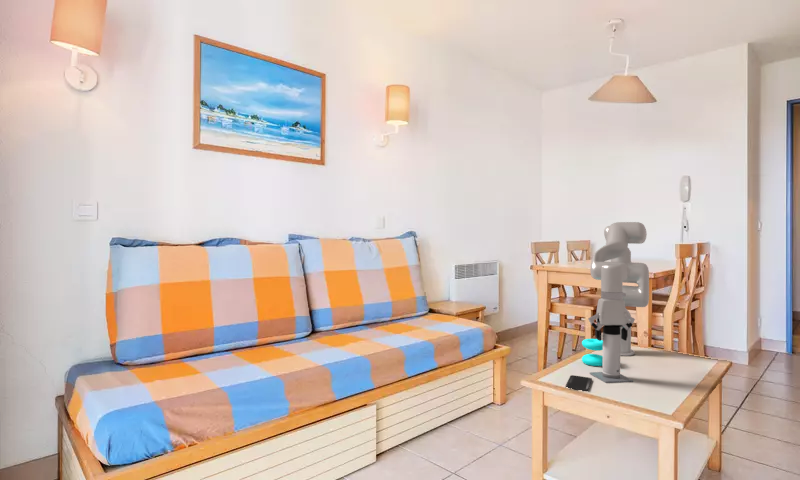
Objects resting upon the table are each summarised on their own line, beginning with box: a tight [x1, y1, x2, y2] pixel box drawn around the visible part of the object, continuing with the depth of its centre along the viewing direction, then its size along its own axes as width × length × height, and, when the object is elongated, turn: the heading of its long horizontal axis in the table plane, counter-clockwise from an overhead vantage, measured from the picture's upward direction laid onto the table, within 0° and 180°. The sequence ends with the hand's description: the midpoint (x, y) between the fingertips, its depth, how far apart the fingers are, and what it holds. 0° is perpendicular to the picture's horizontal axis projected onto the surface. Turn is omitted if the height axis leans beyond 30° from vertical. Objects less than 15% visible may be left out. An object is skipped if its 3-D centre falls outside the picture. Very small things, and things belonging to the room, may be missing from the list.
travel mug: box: [601, 325, 622, 378], centre depth 177 cm, size 6×7×20 cm
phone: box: [565, 374, 593, 392], centre depth 170 cm, size 8×1×15 cm
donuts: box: [581, 338, 603, 367], centre depth 196 cm, size 10×10×10 cm
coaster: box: [589, 371, 634, 384], centre depth 177 cm, size 11×11×1 cm
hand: (611, 339), depth 178 cm, fingers open, 9 cm apart
